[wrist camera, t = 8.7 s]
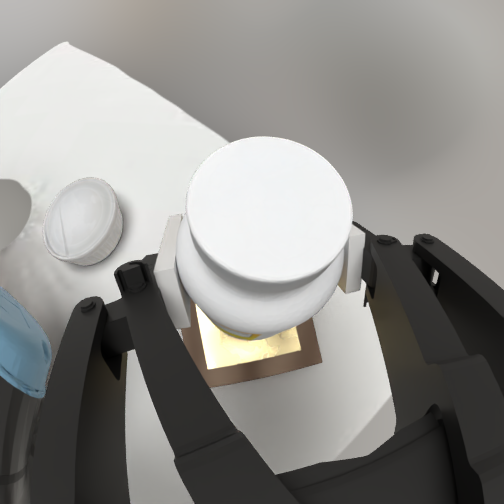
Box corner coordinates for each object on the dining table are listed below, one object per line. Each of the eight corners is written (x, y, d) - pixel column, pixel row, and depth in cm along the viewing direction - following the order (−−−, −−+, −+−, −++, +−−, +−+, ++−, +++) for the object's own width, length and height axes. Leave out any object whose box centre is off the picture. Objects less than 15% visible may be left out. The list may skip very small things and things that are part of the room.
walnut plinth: (195, 388, 27) (193, 389, 26) (174, 268, 32) (171, 264, 30) (318, 361, 29) (322, 362, 28) (290, 247, 33) (292, 242, 32)
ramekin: (49, 246, 32) (29, 232, 27) (93, 185, 35) (79, 165, 30) (97, 289, 30) (76, 278, 25) (145, 218, 34) (133, 197, 29)
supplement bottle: (285, 243, 21) (341, 113, 9) (305, 330, 19) (415, 291, 7) (196, 257, 20) (151, 129, 8) (209, 348, 18) (161, 345, 6)
